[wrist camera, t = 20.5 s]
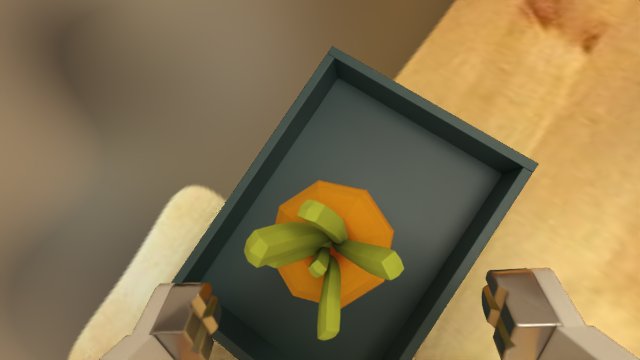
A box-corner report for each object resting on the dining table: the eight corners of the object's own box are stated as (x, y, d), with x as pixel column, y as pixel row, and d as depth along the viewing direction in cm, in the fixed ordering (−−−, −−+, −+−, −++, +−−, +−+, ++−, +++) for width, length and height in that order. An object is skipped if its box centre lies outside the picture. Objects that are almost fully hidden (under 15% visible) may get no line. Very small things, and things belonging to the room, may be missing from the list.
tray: (353, 416, 22) (351, 453, 18) (190, 285, 25) (161, 296, 21) (511, 173, 23) (539, 163, 19) (336, 70, 25) (332, 45, 22)
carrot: (397, 225, 23) (456, 228, 8) (355, 286, 22) (334, 409, 8) (336, 183, 23) (287, 117, 9) (295, 242, 23) (175, 275, 9)
